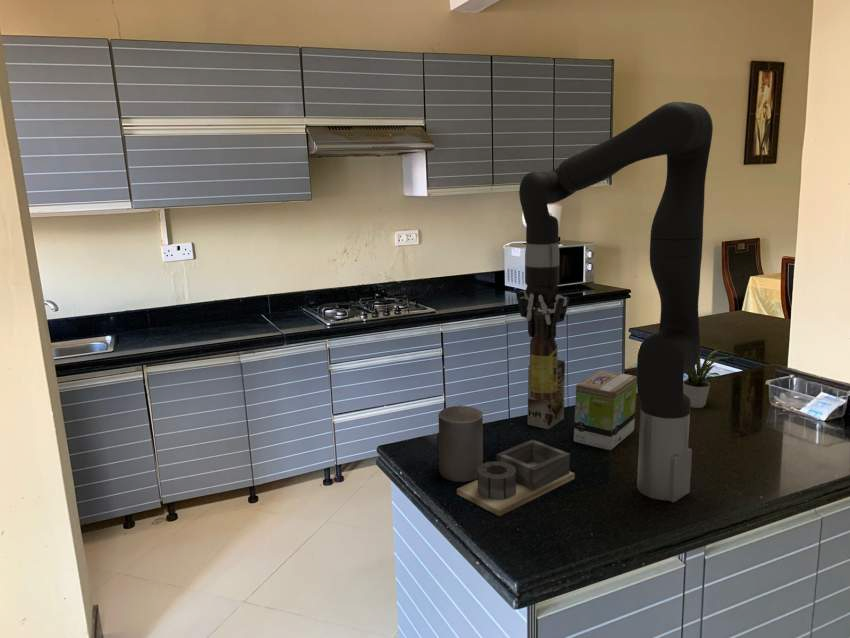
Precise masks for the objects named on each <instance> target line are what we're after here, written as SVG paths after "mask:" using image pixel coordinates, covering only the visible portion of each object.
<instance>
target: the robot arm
mask: <svg viewBox="0 0 850 638" xmlns="http://www.w3.org/2000/svg"><path fill="white" fill-rule="evenodd" d="M713 128H714V127H713V120H712V116H711V114H710V113H709V111H708V109H706V108H705V107H703V106H702V105H700V104H697V103H693V102H684V101H683V102H682V101H672V102H667V103H665V104H663V105H661V106H659V107H658V108H657V109H655V110H654V111H652V112H651V113H649V114H648V115H645V116H644V117H642V118H641V119H640V120H639V121H637V122H635V123H634V124H633V125H631V126H630V127H628V128H626V129H625V130H623V131H621V132H620V133H618V134H616V135H615V136H613V137H611V138H609V139H607V140H605V141H603V142H600V143H598V144H596V145H594V146H592V147H589V148H587V149H586V150H583V151H581V152H579V153H576V154H574V155H572V156H570V157H568V158H566V159H565V160H563V161H562V162H560V164H559V165H558V167H557V168H555V169H552V170H551V169H550V170H548V171H547V170H545V171H544V170H542V171H541V170H540V171H531V172H528V173H526V174H525V175H524V176H523V178H522V179H521V181H520V184H519V189H518V190H519V191H518V195H519V200H520V205H521V210H522V214H523V219H524V220H525V221H524V222H525V224H526V226H525V227H526V228H525V231H526V232H525V236H526V237H525V251H524V283H525V285H526V289H525V290H520V291H517V292H516V293H515V295H516V300H517V304H518V309H519V313H520V316H521V318H525V319H526V320H527V332H528V337H530V338H533V336H534V334H535V320H534V313H535V312H540V311H542V312H543V314H544V315H545V318H546V322H547V325H546V339H547V340H548V341H551V340H554V339H555V338H556V337H557V324H558V323H561V322H564V320H565V318H566V314H567V310H568V306H569V303H570V297H569V296H563V295H561V294H560V293H559V290H558V286H559V284H560V246H559V245H560V244H559V233H560V232H559V227H560V226H559V220H558V218H557V217H556V216H553V215H550V211H549V206H548V205H551V204H555V203H558V202H561V201H563V200H565V199H566V198H568V197H570V196H571V195H574V194H575V193H577V192H579V191H582V190H583V189H587V188H588V187H589V188H590V187H592V186H594V185H597V184H599V183H601V182H603V181H605V180H608V179H609V178H610V177H612V176H614V175H615V174H616V173H618V172H619V171H621V170H622V169H624V168H625V167H628V166H629V165H632V164H635V163H637V162H640V161H643V160H646V159H651V158H655V157H660V156H666V179H665V186H664V190H663V191H662V192H663V193H662V196H661V199H660V202H659V203H658V206H657V209H656V211H655V213H654V217H653V219H652V224H651V227H650V236H649V237H650V239H649V240H650V241H649V265H650V269H651V274H652V277H653V280H654V283H655V285H656V288H657V293H658V295H659V299H660V318H659V319H660V320H659V328H658V332H657V333H653V334H651V335H649V336H647V337H646V338H645V339H644V340H643V341H642V342H641V343H640V345H639V348H638V352H637V358H636V359H637V360H636V361H637V362H636V376H637V390H636V393H637V395H638V398H639V401H640V413H639V414H640V415H639V433H638V434H639V435H638V452H637V453H638V455H637V476H636V479H637V480H636V488H637V490H638V492H639V493H641V494H642V495H644V496H646V497H647V498H650V499H654V500H658V501H659V500H660V501H667V502H668V501H669V502H670V503H675V502H677V501H679V500H680V499H682V498H683V497H685V496H686V495H688V494H690V487H691V475H692V474H691V473H692V457H693V449H692V448H690V447H689V436H690V435H689V434H690V433H689V431H690V421H691V417H690V416H691V408H692V407H691V402H690V399H689V397H688V396H686V395H685V394H684V391H683V381H684V376H685V373H687V372H688V371H690V370H691V369H692V368H694V366H695V367H696V364H697V362H698V360H699V356H700V357H701V337H700V336H701V335H700V323H699V322H700V320H699V297H700V285H701V284H700V283H701V270H702V269H701V266H702V258H703V257H702V256H703V242H704V241H703V239H704V238H703V237H704V216H705V215H704V214H705V192H706V191H705V188H706V187H705V186H706V179H707V178H706V177H707V176H706V175H707V170H708V169H707V168H708V163H709V156H710V152H711V144H712V141H713V130H714V129H713ZM550 314H551V315H550ZM551 318H552V319H551Z"/></svg>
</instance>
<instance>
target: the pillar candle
mask: <svg viewBox="0 0 850 638" xmlns="http://www.w3.org/2000/svg"><path fill="white" fill-rule="evenodd" d="M483 413H484V412H483V411H482V410H479V409H478V408H476V407H473V406H466V405H456V406H449V407H445V408H443V409H441V410H440V411H439V412H438V461H439V464H438V466H439V467H438V468H439V469H438V471H439V475H441V477H442V478H444V479H446V480H448V481H451V482H456V483H457V482H459V483H460V482H461V483H463V482H464V483H465V482H473V481H476V480H478V467H479V465H482V464H484V438H483V437H484V435H483V434H484V432H483V430H484V429H483V428H484V426H483V423H484V420H483V419H484V418H483V417H484V415H483Z"/></svg>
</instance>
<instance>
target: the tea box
mask: <svg viewBox="0 0 850 638" xmlns="http://www.w3.org/2000/svg"><path fill="white" fill-rule="evenodd" d="M575 388H576V389H575V404H574V405H575V409H574V428H573V442H575V443H578V444H582V445H586V446H590V447H594V448H599V449H603V450H607V451H612V450H613V449H614V448H615V447H616V446H617V445H618V444H620V443H621V442H622V441H623V440H625V439H626V438H627V437H628V436H629V435H631V434H632V433H633V432H634V430H635V424H636V423H635V422H636V421H635V417H636V405H637V404H636V402H637V375H631V374H627V373H625V374H624V373H620V372H616V371H609V370H601V369H600V370H598V371H596V372H595V373H593V374H592V375H590V376H588V377H587V378H586V379H584V380H582V381H580V382H578V383H577V384H576V386H575Z"/></svg>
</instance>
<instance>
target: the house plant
mask: <svg viewBox="0 0 850 638" xmlns="http://www.w3.org/2000/svg"><path fill="white" fill-rule="evenodd" d="M719 351H720V349H716V350H713V351H711V352H710V353H708V355H707V356H706V357H705V358H704V361H703V363H702V365H701V361H702V360H701V355H700V356H699V360H698V362H697V364H696V365H695V366H694V368H692V369H691V370H690V371H688V372H687V373H685V374H686V375H687V377H686V376H685V374H684V376H683V378H685V379H683V394H685V395H686V396H688V397H689V399H690V402H691V407H690V408H693V409H694V408H695V409H702V408H704V406H705V407H706V404H707V400H708V395H709V391H710V387H711V383H710V382H709V381H706V379H716V380H719V379H718V378H717V377H715V376H713V375H717V376H719V377H721V375H720V373H718V372H711V373H709V372H710V371H711V370H712V369H713V368H714V367H716V366H717V364H716V365H713V364H714V363H715V362H717V361H719V360H721V359H722V360H723V359H729V357H728V356H726V357H725V356H724V357H722V356H721V357H720V356H717V357H715V358H711V357H713V356H714V354H715V353H716V352H719ZM710 358H711V359H710ZM711 375H712V376H711Z"/></svg>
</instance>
